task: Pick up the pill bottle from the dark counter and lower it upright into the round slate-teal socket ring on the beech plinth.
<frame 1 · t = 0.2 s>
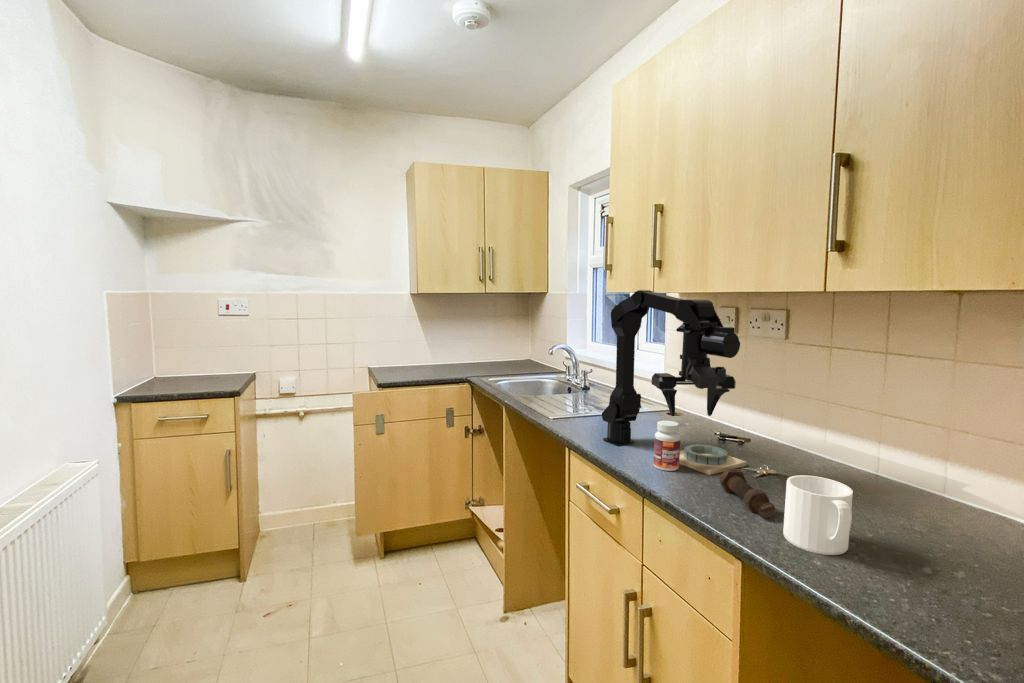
hand: (691, 415, 125), 14 cm above the worktop, fingers open, 9 cm apart
socket: (705, 461, 133), on the worktop
bolt: (747, 506, 107), on the worktop
pill bottle: (666, 468, 129), on the worktop
mug: (819, 545, 90), on the worktop
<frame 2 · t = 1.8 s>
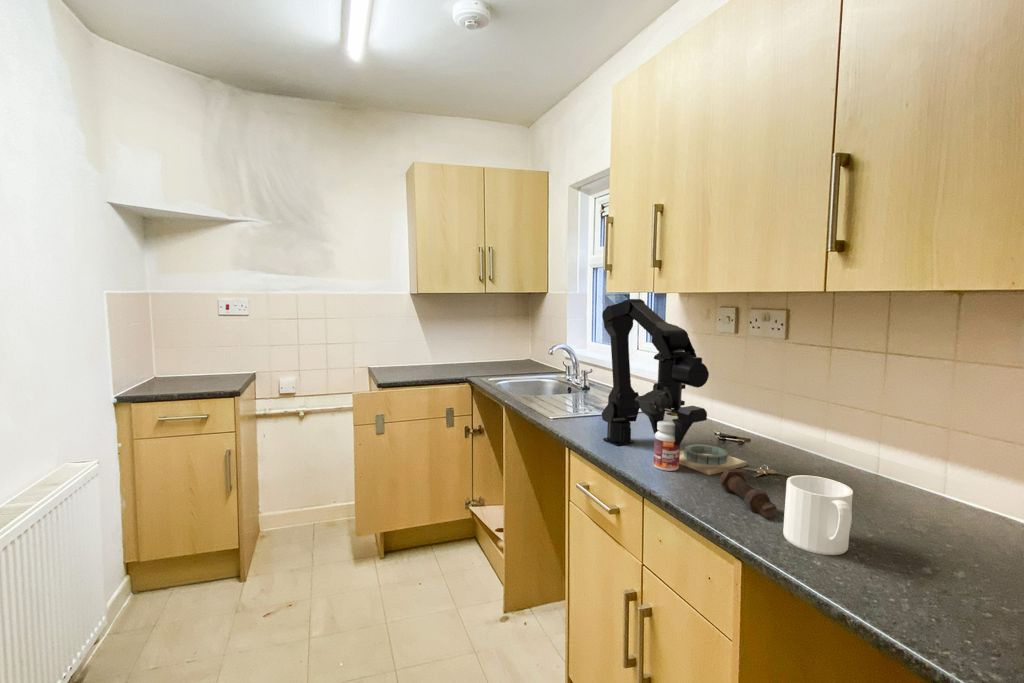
hand: (667, 441, 128), 7 cm above the worktop, fingers closed on pill bottle, 6 cm apart
pill bottle: (666, 468, 129), on the worktop, touching gripper
everything else where it was.
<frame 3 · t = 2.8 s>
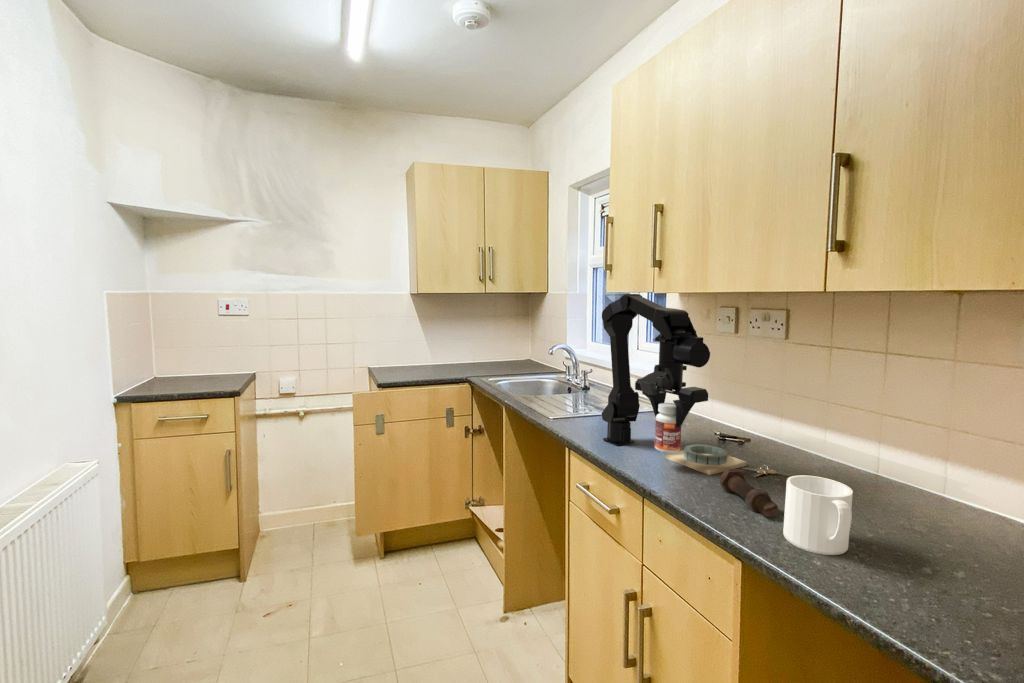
hand: (668, 423, 127), 11 cm above the worktop, fingers closed on pill bottle, 6 cm apart
pill bottle: (667, 450, 128), point 4 cm above the worktop, touching gripper
everything else where it was.
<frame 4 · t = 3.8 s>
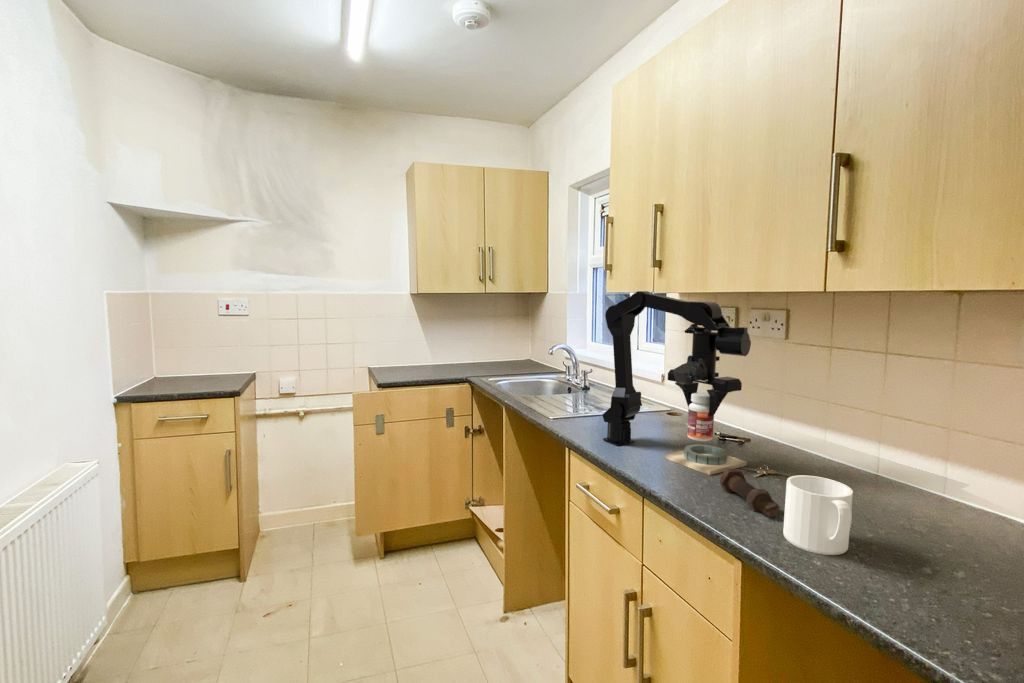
hand: (701, 413, 131), 13 cm above the worktop, fingers closed on pill bottle, 6 cm apart
pill bottle: (699, 439, 131), point 6 cm above the worktop, touching gripper
everything else where it was.
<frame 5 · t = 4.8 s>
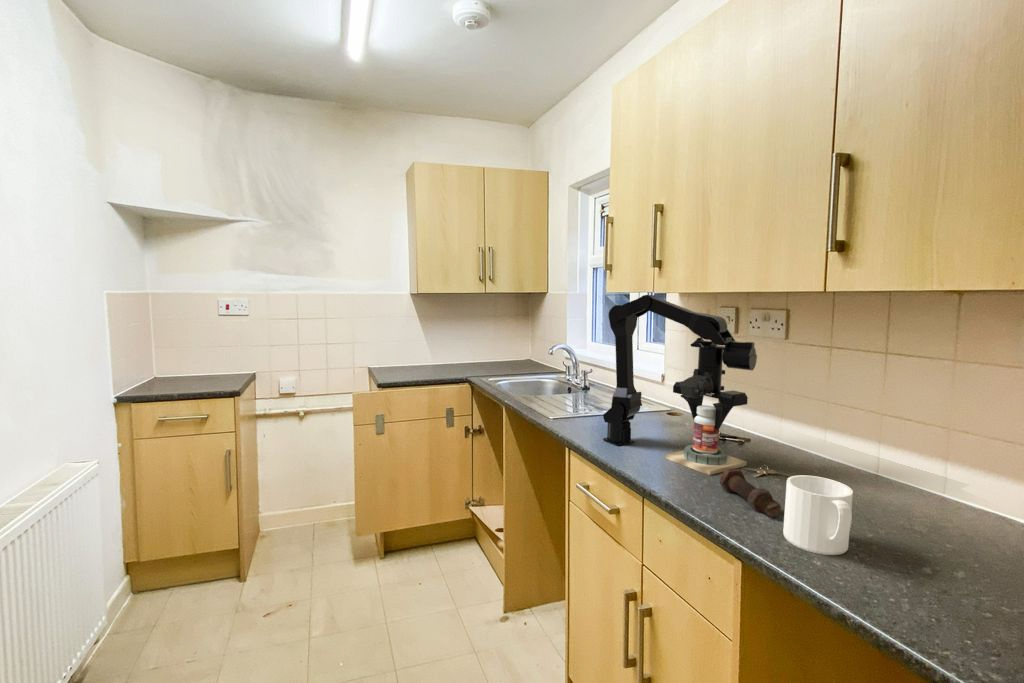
hand: (706, 425, 132), 9 cm above the worktop, fingers closed on pill bottle, 6 cm apart
pill bottle: (705, 451, 133), point 3 cm above the worktop, touching gripper
everything else where it was.
when the fingers open (9 cm above the worktop, at t = 5.8 s): pill bottle drops 1 cm, resting on socket.
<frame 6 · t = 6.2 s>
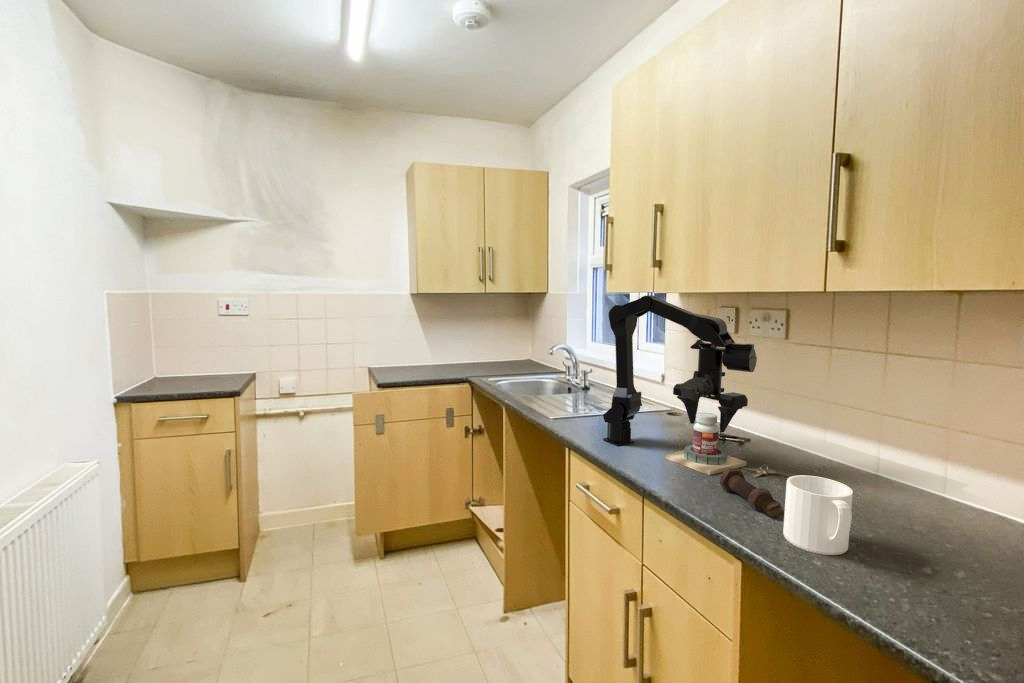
hand: (706, 427, 132), 9 cm above the worktop, fingers open, 9 cm apart
pill bottle: (704, 458, 133), point 1 cm above the worktop, touching socket
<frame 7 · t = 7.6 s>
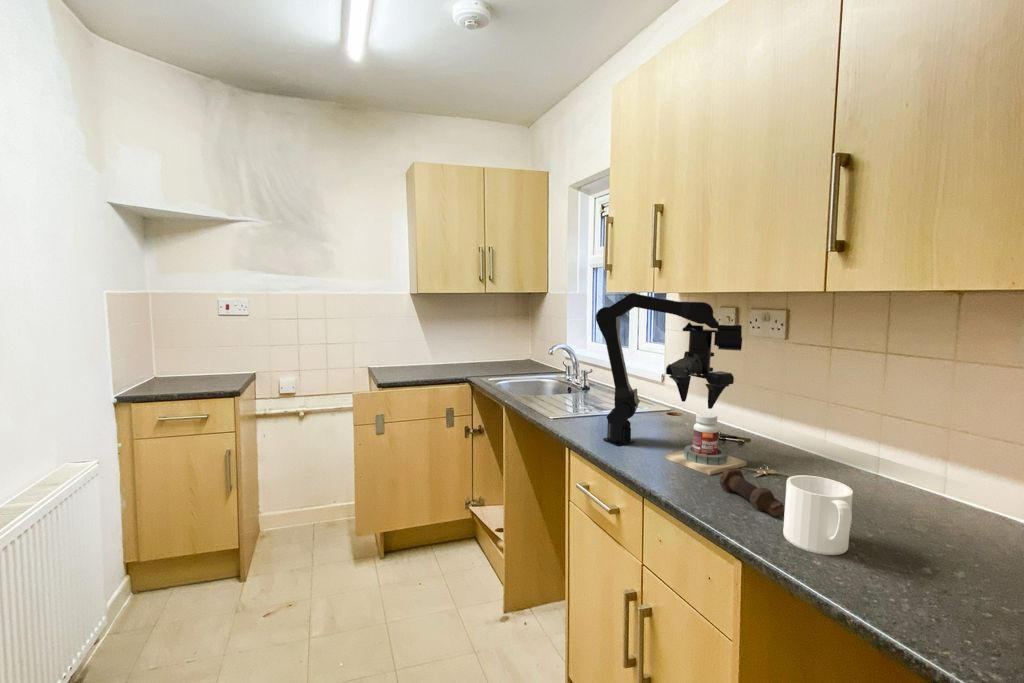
hand: (696, 404, 141), 13 cm above the worktop, fingers open, 9 cm apart
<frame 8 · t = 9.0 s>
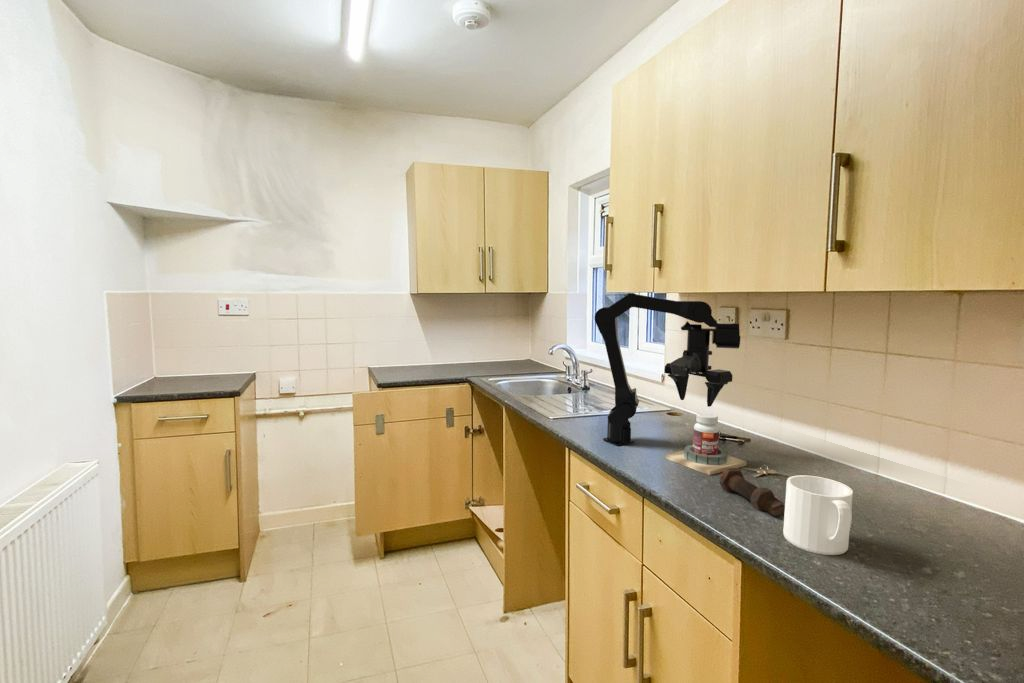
hand: (695, 403, 142), 13 cm above the worktop, fingers open, 9 cm apart
at the end: pill bottle 0.1 cm from the socket (horizontally); pill bottle point 0.8 cm above the worktop; pill bottle tilted 0° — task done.
